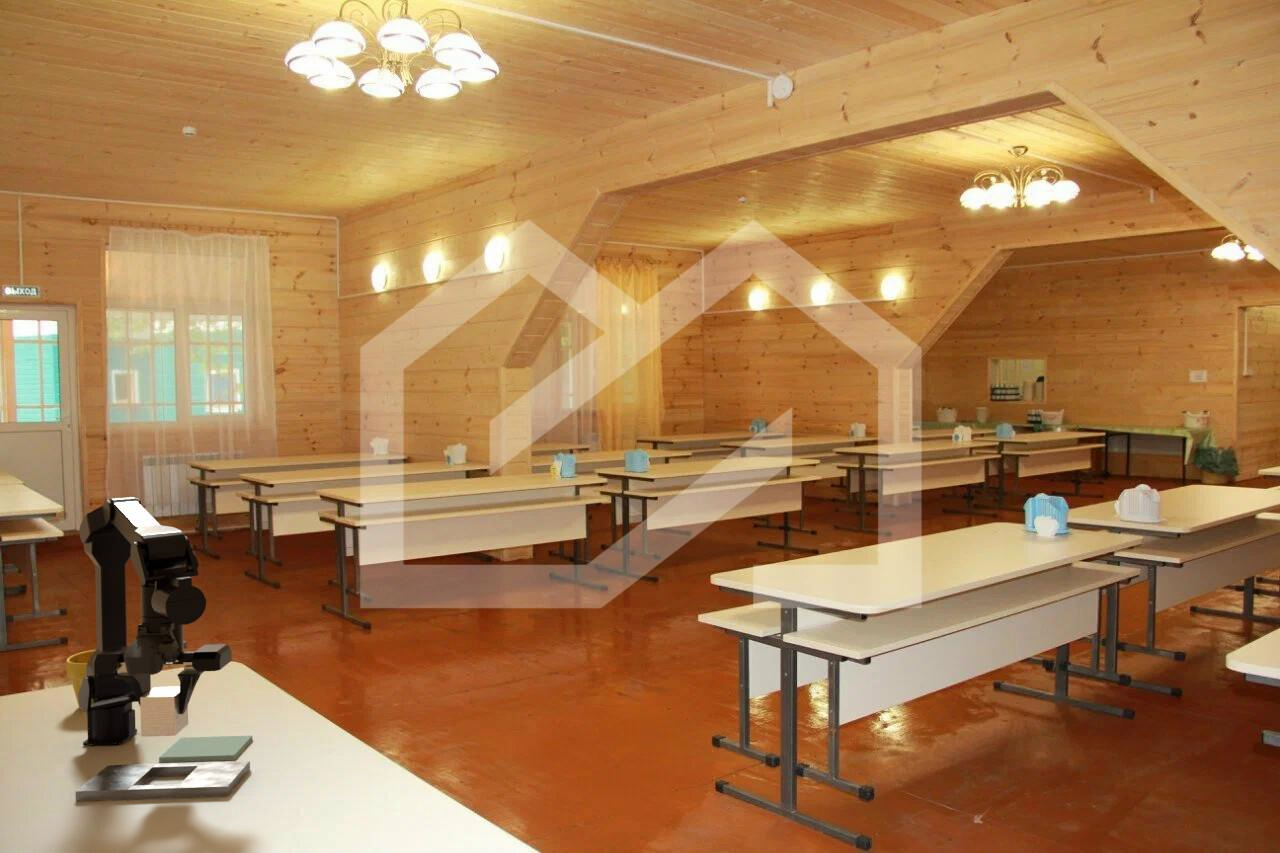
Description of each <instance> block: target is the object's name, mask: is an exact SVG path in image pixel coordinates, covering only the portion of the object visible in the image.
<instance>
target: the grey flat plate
mask: <svg viewBox="0 0 1280 853" xmlns="http://www.w3.org/2000/svg"><path fill="white" fill-rule="evenodd" d="M250 771H251V760H225V761H192V762H158V763H138V764H137V763H132V764H131V763H128V764H107V765H106V766H105V767H104V768H102V769H101V770H100V771H99V772H97V773H96V774H94V776H92V777H91V778H90V779H89V780H88V781H87V782H85V783H84V784H83V785H81V786H80V787H79V788H78V789H76V790H75V802H89V801H90V802H93V801H94V802H96V801H119V800H120V801H126V800H127V801H128V800H152V799H155V800H156V799H158V800H159V799H179V798H180V799H184V798H185V799H186V798H189V799H190V798H217V797H219V798H220V797H229V796H230V794H232V793H233V790H234V789H236V787H238V785H239V783H240V782H242V780H243V779H244V778H245V777H246V775H248V773H249V772H250ZM184 775H185V778H184V780H183V781H182V782H181V783H173V784H172V783H169V784H168V783H167V784H147V782H149V781H150V780H151V779H152V778H153V777H155V778H156V777H157V778H158V777H177V776H178V777H182V776H184ZM186 775H189V776H186Z"/></svg>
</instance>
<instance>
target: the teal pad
mask: <svg viewBox="0 0 1280 853" xmlns="http://www.w3.org/2000/svg"><path fill="white" fill-rule="evenodd" d="M252 741H253V735H229V736H228V735H227V736H225V735H224V736H223V735H222V736H221V735H220V736H199V737H198V736H193V737H192V736H191V737H190V736H189V737H186V736H185V737H180V738H179V739H178V740H177V741H176V742H175V743H174V744H172V746H170V747H169V748H168V749H166V751H165V752H164V753H162V754H161V755H160V756H159V757H158V763H184V762H217V761H236V759H237V758H238V757H239V756H240V754H241V753H242V752H243V751H244V750H245V749H246V748H247V746H248V745H249V744H250V743H251V742H252Z"/></svg>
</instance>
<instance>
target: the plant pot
mask: <svg viewBox="0 0 1280 853" xmlns="http://www.w3.org/2000/svg"><path fill="white" fill-rule="evenodd" d="M95 650H96V649H91V650H85V651H81V652H78V653H75V654H73V655H70V656H69V657H68V658H67V659H66V662H65V664H66V666H65V667H66V668H65V669H66V678H68V679H70V681H71V685H72V687H73V692H74V694H75V698H76V702H77V705H78V708H79V709H80V710H82V711H84V710H83V709H82V708H81V707H80V706H79V699H78V693H79V690H80V688H81V685H82V682H83V679H84V677H86V666H87V663H88V661H89V660H90V658H91V657H92V655H93V653H94V652H95Z"/></svg>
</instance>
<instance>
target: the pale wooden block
mask: <svg viewBox="0 0 1280 853" xmlns="http://www.w3.org/2000/svg"><path fill="white" fill-rule="evenodd" d="M179 698H180V686H156V687H152V689H151V690H150V691H148V692H147V693H146V694H144V695H143V696H141V697H140V705H139V708H140V737H142V738H143V737H144V738H145V737H170V736H171V737H173V736H176V735H178V734H180V732H181V731H182V730H184V729H185V728H186V727H187V726H188V725H189V705H188V706H187V709H186V711H185V713H184V714H180V708H179Z"/></svg>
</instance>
